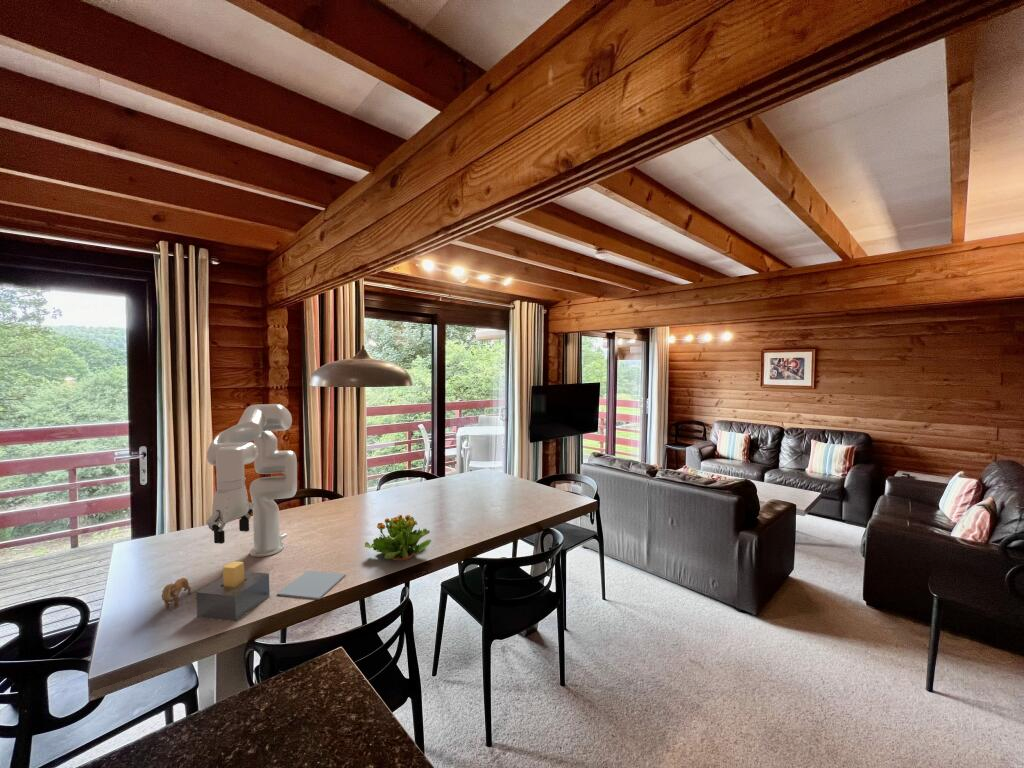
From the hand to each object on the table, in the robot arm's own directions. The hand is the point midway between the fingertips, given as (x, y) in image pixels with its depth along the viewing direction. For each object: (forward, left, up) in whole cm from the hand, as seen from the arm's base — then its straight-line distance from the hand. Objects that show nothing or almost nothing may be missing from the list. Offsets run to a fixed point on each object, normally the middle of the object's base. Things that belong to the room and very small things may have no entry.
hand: (232, 536), depth 134 cm
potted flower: (-43, +40, -24) cm, 63 cm away
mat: (-16, +17, -23) cm, 33 cm away
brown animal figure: (+1, -20, -24) cm, 31 cm away
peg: (0, 0, -21) cm, 21 cm away
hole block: (0, 0, -23) cm, 23 cm away
